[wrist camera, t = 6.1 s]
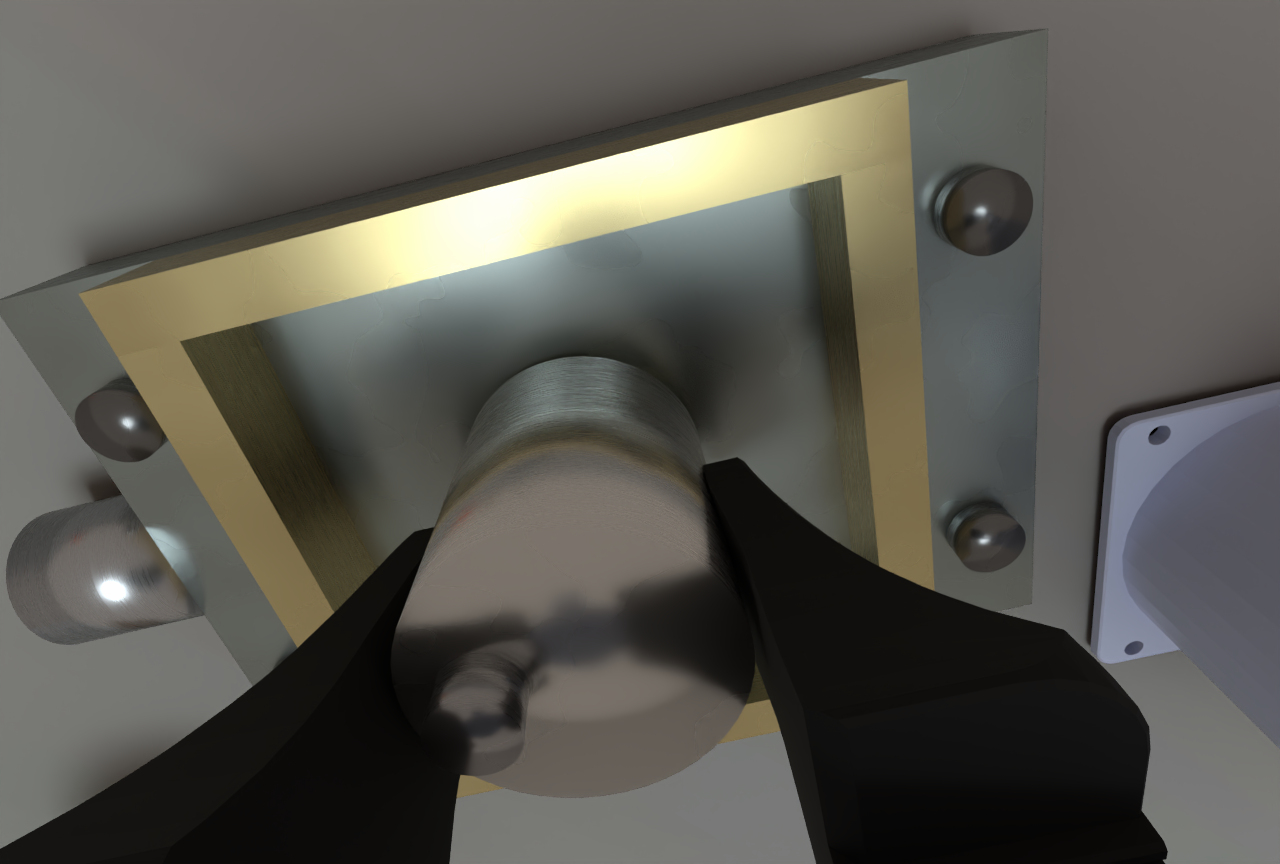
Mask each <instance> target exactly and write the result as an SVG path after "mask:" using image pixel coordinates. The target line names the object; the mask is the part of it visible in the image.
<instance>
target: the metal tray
mask: <svg viewBox="0 0 1280 864" xmlns="http://www.w3.org/2000/svg"><path fill="white" fill-rule="evenodd" d="M1047 51H1048V29H1037V30H1025V31H1013V32H1001V33H990V34H978V35H971V36H967V37H963V38H959V39H955V40H952V41H948V42H944V43H940V44H936V45H932V46H929V47H925V48H921V49H917V50H913V51H909V52H905V53H902V54H898V55H894V56H890V57H886V58H882V59H879V60H875V61H871V62H867V63H863V64H859V65H856V66H852V67H848V68H844V69H840V70H836V71H833V72H829V73H825V74H821V75H817V76H813V77H809V78H806V79H802V80H798V81H794V82H790V83H786V84H783V85H779V86H775V87H771V88H767V89H763V90H760V91H756V92H752V93H748V94H744V95H740V96H736V97H733V98H729V99H725V100H721V101H717V102H713V103H710V104H706V105H702V106H698V107H694V108H690V109H687V110H683V111H679V112H675V113H671V114H667V115H663V116H660V117H656V118H652V119H648V120H644V121H640V122H637V123H633V124H629V125H625V126H621V127H617V128H614V129H610V130H606V131H602V132H598V133H594V134H591V135H587V136H583V137H579V138H575V139H571V140H567V141H564V142H560V143H556V144H552V145H548V146H544V147H541V148H537V149H533V150H529V151H525V152H521V153H518V154H514V155H510V156H506V157H502V158H498V159H494V160H491V161H487V162H483V163H479V164H475V165H471V166H468V167H464V168H460V169H456V170H452V171H448V172H445V173H441V174H437V175H433V176H429V177H425V178H421V179H418V180H414V181H410V182H406V183H402V184H398V185H395V186H391V187H387V188H383V189H379V190H375V191H372V192H368V193H364V194H360V195H356V196H352V197H349V198H345V199H341V200H337V201H333V202H329V203H325V204H322V205H318V206H314V207H310V208H306V209H302V210H299V211H295V212H291V213H287V214H283V215H279V216H276V217H272V218H268V219H264V220H260V221H256V222H252V223H249V224H245V225H241V226H237V227H233V228H229V229H226V230H222V231H218V232H214V233H210V234H206V235H203V236H199V237H195V238H191V239H187V240H183V241H179V242H176V243H172V244H168V245H164V246H160V247H156V248H153V249H149V250H145V251H141V252H137V253H133V254H130V255H126V256H122V257H118V258H114V259H110V260H107V261H103V262H99V263H95V264H91V265H87V266H84V267H81V268H79V269H76V270H74V271H71V272H68V273H66V274H63V275H61V276H58V277H56V278H53V279H51V280H48V281H45V282H43V283H40V284H38V285H35V286H33V287H30V288H27V289H25V290H22V291H20V292H17V293H15V294H12V295H10V296H7V297H4V298H2V299H0V316H1V317H2V319H3V320H4V322H5V323H6V325H7V326H8V328H9V329H10V330H11V332H12V333H13V335H14V336H15V338H16V339H17V341H18V342H19V344H20V345H21V347H22V348H23V350H24V351H25V352H26V354H27V355H28V357H29V358H30V360H31V361H32V363H33V364H34V366H35V367H36V369H37V370H38V372H39V373H40V374H41V376H42V377H43V379H44V380H45V382H46V383H47V385H48V386H49V388H50V389H51V391H52V392H53V394H54V395H55V396H56V398H57V399H58V401H59V402H60V404H61V405H62V407H63V408H64V410H65V411H66V413H67V414H68V416H69V417H70V418H71V420H72V421H73V423H74V424H75V426H76V427H77V430H78V432H79V434H80V436H81V437H82V439H83V440H84V441H85V442H86V443H87V444H88V445H89V446H90V448H91V449H92V451H93V452H94V454H95V455H96V457H97V458H98V460H99V461H100V462H101V464H102V465H103V467H104V468H105V470H106V471H107V473H108V474H109V476H110V477H111V479H112V480H113V482H114V483H115V484H116V486H117V487H118V489H119V490H120V492H121V493H122V495H119V496H115V497H110V498H106V499H102V500H98V501H94V502H90V503H85V504H81V505H77V506H73V507H69V508H64V509H60V510H56V511H52V512H49V513H45V514H43V515H41V516H39V517H37V518H35V519H34V520H32V521H31V522H29V523H28V524H27V525H26V526H25V527H24V528H23V529H22V530H21V532H20V533H19V534H18V536H17V537H16V539H15V541H14V542H13V545H12V547H11V549H10V552H9V556H8V560H7V566H6V583H7V590H8V594H9V598H10V600H11V603H12V606H13V608H14V610H15V611H16V613H17V615H18V617H19V618H20V619H21V621H22V622H23V623H24V624H25V625H26V626H27V627H28V628H29V629H30V630H31V631H32V632H33V633H35V634H36V635H38V636H39V637H41V638H43V639H45V640H47V641H50V642H52V643H57V644H63V645H74V644H80V643H84V642H89V641H93V640H97V639H102V638H106V637H111V636H115V635H119V634H124V633H128V632H133V631H137V630H141V629H146V628H150V627H155V626H159V625H163V624H168V623H172V622H177V621H181V620H185V619H190V618H194V617H199V616H203V615H205V616H206V618H207V619H208V621H209V622H210V624H211V625H212V627H213V628H214V630H215V631H216V633H217V634H218V635H219V637H220V638H221V640H222V641H223V643H224V644H225V646H226V647H227V649H228V650H229V652H230V653H231V655H232V656H233V657H234V659H235V660H236V662H237V663H238V665H239V666H240V668H241V669H242V671H243V672H244V674H245V675H246V677H247V678H248V679H249V681H250V682H251V684H252V685H253V686H254V685H255V684H256V683H258V682H259V681H260V680H261V679H263V678H264V677H265V676H266V675H267V674H269V673H270V672H271V671H272V670H273V669H274V668H276V667H277V666H278V665H279V664H280V663H281V662H283V661H284V660H285V659H286V658H287V657H288V656H289V655H290V654H291V653H293V652H294V651H295V650H296V649H297V648H298V647H299V646H300V645H301V644H302V643H303V642H304V641H305V640H306V639H307V638H308V637H309V636H310V635H311V634H312V633H314V632H315V631H316V630H317V629H318V628H319V627H320V626H321V625H322V624H323V623H324V622H325V621H326V620H327V619H328V618H329V617H330V616H331V615H332V614H333V613H334V612H335V611H336V610H337V609H338V608H339V607H340V606H341V605H342V604H343V603H344V602H345V601H346V600H347V599H348V598H349V597H350V596H351V595H352V594H353V593H354V592H355V591H356V590H357V589H358V588H359V587H360V586H361V585H362V584H363V582H364V581H365V580H366V579H367V578H368V577H369V576H370V575H371V574H372V573H373V572H374V571H375V570H376V569H377V568H378V567H379V566H380V565H381V564H382V563H383V562H384V560H385V559H386V558H387V557H388V556H389V555H390V554H391V553H392V552H393V551H394V550H395V549H396V548H397V547H398V546H399V545H400V544H401V543H402V542H403V541H404V540H405V539H406V538H408V537H409V536H410V535H411V534H412V533H413V532H415V531H419V530H423V529H427V528H432V527H435V524H436V521H437V519H438V516H439V513H440V511H441V508H442V505H443V503H444V500H445V497H446V495H447V492H448V489H449V487H450V484H451V481H452V479H453V476H454V473H455V471H456V468H457V465H458V463H459V460H460V457H461V455H462V452H463V450H464V447H465V444H466V442H467V439H468V436H469V434H470V431H471V428H472V426H473V424H474V421H475V419H476V417H477V415H478V413H479V412H480V410H481V408H482V407H483V405H484V404H485V402H486V401H487V400H488V399H489V398H490V396H491V395H492V394H493V393H494V392H495V391H496V390H497V389H498V388H499V387H500V386H501V385H503V384H504V383H505V382H506V381H507V380H509V379H510V378H512V377H513V376H515V375H516V374H518V373H520V372H522V371H524V370H526V369H528V368H530V367H532V366H534V365H537V364H540V363H543V362H546V361H549V360H554V359H559V358H564V357H576V356H589V357H601V358H607V359H613V360H617V361H620V362H623V363H626V364H630V365H632V366H634V367H636V368H639V369H641V370H643V371H645V372H647V373H648V374H650V375H652V376H653V377H655V378H656V379H658V380H659V381H660V382H662V383H663V384H664V385H665V386H667V387H668V388H669V389H670V390H671V391H672V392H673V393H674V394H675V395H676V396H677V397H678V398H679V399H680V401H681V402H682V404H683V405H684V406H685V408H686V409H687V411H688V412H689V414H690V416H691V418H692V420H693V422H694V424H695V427H696V430H697V433H698V436H699V439H700V443H701V447H702V450H703V454H704V458H705V462H706V464H710V463H714V462H718V461H723V460H727V459H731V458H736V457H738V458H740V459H741V460H743V461H744V462H745V463H746V464H747V465H748V466H749V468H750V469H751V470H752V471H753V472H754V473H755V474H756V475H757V476H758V477H759V478H760V479H761V480H762V481H763V482H764V483H765V484H766V485H767V486H768V487H769V488H770V489H771V490H772V491H773V492H774V493H775V494H776V495H777V496H779V497H780V498H781V499H782V500H783V501H784V502H786V503H787V504H788V505H789V506H790V507H792V508H793V509H794V510H795V511H796V512H798V513H799V514H800V515H801V516H802V517H804V518H805V519H806V520H808V521H809V522H810V523H812V524H813V525H814V526H816V527H817V528H818V529H820V530H821V531H823V532H824V533H825V534H827V535H828V536H830V537H831V538H833V539H834V540H836V541H837V542H839V543H840V544H842V545H843V546H845V547H846V548H848V549H850V550H851V551H853V552H854V553H856V554H858V555H860V556H861V557H863V558H865V559H867V560H868V561H870V562H872V563H874V564H876V565H878V566H880V567H882V568H884V569H886V570H888V571H890V572H892V573H894V574H896V575H899V576H901V577H903V578H905V579H908V580H910V581H912V582H914V583H917V584H919V585H921V586H923V587H926V588H928V589H931V590H933V591H936V592H939V593H941V594H944V595H946V596H949V597H952V598H955V599H958V600H961V601H964V602H967V603H969V604H972V605H975V606H978V607H981V608H984V609H987V610H991V611H994V612H996V611H1000V610H1005V609H1010V608H1015V607H1019V606H1024V605H1029V604H1032V576H1033V541H1034V506H1035V471H1036V436H1037V401H1038V366H1039V331H1040V296H1041V261H1042V226H1043V191H1044V156H1045V121H1046V86H1047ZM778 731H780V728H779V725H778V721H777V718H776V715H775V713H774V710H773V707H772V705H771V702H770V699H769V697H768V694H767V691H766V688H765V686H764V683H763V680H762V678H761V675H760V672H759V670H758V667H757V664H756V662H755V673H754V679H753V684H752V689H751V691H750V694H749V697H748V700H747V703H746V705H745V707H744V709H743V711H742V712H741V714H740V716H739V718H738V720H737V721H736V723H735V724H734V725H733V727H732V728H731V729H730V731H729V732H728V733H727V734H726V736H725V737H724V738H723V739H722V740H721V741H720V742H719V743H718V744H720V743H725V742H729V741H734V740H739V739H744V738H749V737H754V736H758V735H763V734H768V733H773V732H778ZM502 788H503V787H499V786H496V785H494V784H491V783H489V782H486V781H483V780H481V779H478V778H476V777H474V776H466V775H460V780H459V786H458V792H457V798H459V797H464V796H468V795H473V794H478V793H483V792H488V791H493V790H497V789H502Z"/></svg>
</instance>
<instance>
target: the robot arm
mask: <svg viewBox="0 0 1280 864" xmlns="http://www.w3.org/2000/svg"><path fill="white" fill-rule="evenodd" d="M1156 427H1158V430H1157V431H1156V432H1155V433H1154V434H1153V435H1151V436H1149V434H1150V432H1151V431H1152V430H1153V429H1154V428H1156ZM703 469H704V473H705V477H706V480H707V484H708V488H709V492H710V495H711V498H712V501H713V504H714V507H715V509H716V512H717V515H718V518H719V520H720V523H721V526H722V529H723V532H724V535H725V539H726V542H727V545H728V548H729V551H730V555H731V558H732V562H733V566H734V569H735V573H736V577H737V581H738V584H739V588H740V592H741V595H742V599H743V603H744V607H745V610H746V614H747V618H748V621H749V625H750V629H751V633H752V637H753V643H754V649H755V662H756V664H757V667H758V670H759V672H760V675H761V678H762V680H763V683H764V686H765V688H766V691H767V694H768V697H769V699H770V702H771V705H772V707H773V710H774V713H775V715H776V718H777V721H778V725H779V728H780V731H781V734H782V737H783V740H784V743H785V747H786V751H787V755H788V758H789V762H790V766H791V770H792V773H793V777H794V781H795V785H796V788H797V792H798V796H799V800H800V803H801V807H802V811H803V815H804V819H805V822H806V826H807V830H808V834H809V838H810V841H811V845H812V849H813V853H814V856H815V860H816V864H1165V863H1164V862H1163V860H1164V859H1166V858H1167V852H1168V851H1167V848H1166V846H1165V843H1164V841H1163V839H1162V838H1161V837H1160V835H1159V834H1158V833H1157V831H1156V830H1155V828H1154V827H1153V826H1152V824H1151V823H1150V822H1149V820H1148V819H1147V817H1146V816H1145V815H1144V813H1143V812H1142V811H1141V810H1142V803H1143V796H1144V789H1145V782H1146V776H1147V769H1148V762H1149V755H1150V734H1149V726H1148V724H1147V722H1146V720H1145V718H1144V717H1143V715H1142V713H1141V711H1140V709H1139V708H1138V706H1137V705H1136V704H1135V703H1134V701H1133V700H1132V699H1131V698H1130V697H1129V696H1128V694H1127V693H1126V692H1125V691H1124V690H1123V688H1122V687H1121V686H1120V685H1119V684H1118V682H1117V681H1116V680H1115V679H1114V678H1113V677H1112V676H1111V675H1110V674H1109V673H1108V672H1107V671H1106V670H1105V669H1104V668H1103V667H1102V666H1101V665H1100V663H1099V662H1098V661H1097V660H1096V659H1095V658H1094V657H1092V656H1091V655H1090V654H1089V653H1088V652H1087V651H1086V650H1085V649H1084V648H1083V647H1082V646H1080V645H1079V644H1078V643H1077V642H1076V641H1075V640H1074V639H1073V638H1072V637H1071V636H1070V635H1069V634H1068V633H1067V632H1066V631H1065V630H1062V629H1059V628H1055V627H1051V626H1047V625H1043V624H1040V623H1036V622H1032V621H1028V620H1024V619H1020V618H1017V617H1013V616H1009V615H1005V614H1001V613H998V612H994V611H991V610H987V609H984V608H981V607H978V606H975V605H972V604H969V603H967V602H964V601H961V600H958V599H955V598H952V597H949V596H946V595H944V594H941V593H939V592H936V591H933V590H931V589H928V588H926V587H923V586H921V585H919V584H917V583H914V582H912V581H910V580H908V579H905V578H903V577H901V576H899V575H896V574H894V573H892V572H890V571H888V570H886V569H884V568H882V567H880V566H878V565H876V564H874V563H872V562H870V561H868V560H867V559H865V558H863V557H861V556H860V555H858V554H856V553H854V552H853V551H851V550H850V549H848V548H846V547H845V546H843V545H842V544H840V543H839V542H837V541H836V540H834V539H833V538H831V537H830V536H828V535H827V534H825V533H824V532H823V531H821V530H820V529H818V528H817V527H816V526H814V525H813V524H812V523H810V522H809V521H808V520H806V519H805V518H804V517H802V516H801V515H800V514H799V513H798V512H796V511H795V510H794V509H793V508H792V507H790V506H789V505H788V504H787V503H786V502H784V501H783V500H782V499H781V498H780V497H779V496H777V495H776V494H775V493H774V492H773V491H772V490H771V489H770V488H769V487H768V486H767V485H766V484H765V483H764V482H763V481H762V480H761V479H760V478H759V477H758V476H757V475H756V474H755V473H754V472H753V471H752V470H751V469H750V468H749V466H748V465H747V464H746V463H745V462H744V461H743V460H741V459H740V458H738V457H736V458H731V459H727V460H723V461H718V462H714V463H710V464H705V465H703ZM433 529H434V527H432V528H427V529H423V530H419V531H415V532H413V533H412V534H411V535H410V536H409V537H408V538H406V539H405V540H404V541H403V542H402V543H401V544H400V545H399V546H398V547H397V548H396V549H395V550H394V551H393V552H392V553H391V554H390V555H389V556H388V557H387V558H386V559H385V560H384V562H383V563H382V564H381V565H380V566H379V567H378V568H377V569H376V570H375V571H374V572H373V573H372V574H371V575H370V576H369V577H368V578H367V579H366V580H365V581H364V582H363V584H362V585H361V586H360V587H359V588H358V589H357V590H356V591H355V592H354V593H353V594H352V595H351V596H350V597H349V598H348V599H347V600H346V601H345V602H344V603H343V604H342V605H341V606H340V607H339V608H338V609H337V610H336V611H335V612H334V613H333V614H332V615H331V616H330V617H329V618H328V619H327V620H326V621H325V622H324V623H323V624H322V625H321V626H320V627H319V628H318V629H317V630H316V631H315V632H314V633H312V634H311V635H310V636H309V637H308V638H307V639H306V640H305V641H304V642H303V643H302V644H301V645H300V646H299V647H298V648H297V649H296V650H295V651H294V652H293V653H291V654H290V655H289V656H288V657H287V658H286V659H285V660H284V661H283V662H281V663H280V664H279V665H278V666H277V667H276V668H274V669H273V670H272V671H271V672H270V673H269V674H267V675H266V676H265V677H264V678H263V679H261V680H260V681H259V682H258V683H256V684H255V685H254V686H253V687H252V688H250V689H249V690H248V691H247V692H245V693H244V694H243V695H242V696H240V697H239V698H238V699H237V700H235V701H234V702H233V703H232V704H230V705H229V706H227V707H226V708H225V709H223V710H222V711H221V712H219V713H218V714H216V715H215V716H214V717H212V718H211V719H210V720H208V721H207V722H205V723H204V724H203V725H201V726H200V727H199V728H197V729H196V730H194V731H193V732H192V733H190V734H189V735H188V736H186V737H185V738H183V739H182V740H181V741H179V742H178V743H177V744H175V745H174V746H172V747H171V748H169V749H168V750H166V751H165V752H163V753H162V754H160V755H159V756H157V757H156V758H154V759H153V760H151V761H150V762H148V763H147V764H145V765H143V766H142V767H140V768H139V769H137V770H136V771H134V772H133V773H131V774H129V775H128V776H126V777H125V778H123V779H121V780H120V781H118V782H117V783H115V784H113V785H112V786H110V787H108V788H107V789H105V790H104V791H102V792H100V793H99V794H97V795H95V796H94V797H92V798H90V799H89V800H87V801H85V802H84V803H82V804H80V805H78V806H77V807H75V808H73V809H71V810H70V811H68V812H66V813H64V814H62V815H61V816H59V817H57V818H55V819H53V820H52V821H50V822H48V823H46V824H44V825H43V826H41V827H39V828H37V829H35V830H34V831H32V832H30V833H28V834H26V835H25V836H23V837H21V838H19V839H17V840H16V841H14V842H12V843H10V844H8V845H7V846H5V847H3V848H1V849H0V864H449V861H450V851H451V841H452V831H453V821H454V811H455V804H456V798H457V792H458V786H459V780H460V774H455V773H452V772H449V771H447V770H444V769H442V768H440V767H439V766H437V765H436V764H434V763H433V762H432V761H431V760H430V759H429V758H428V757H427V756H426V754H425V753H424V751H423V749H422V746H421V741H420V736H419V735H418V733H417V732H416V731H415V730H414V728H413V727H412V725H411V724H410V722H409V721H408V719H407V718H406V716H405V714H404V712H403V710H402V708H401V706H400V704H399V702H398V700H397V696H396V693H395V690H394V686H393V683H392V674H391V665H390V664H391V649H392V643H393V639H394V635H395V631H396V627H397V625H398V622H399V619H400V617H401V614H402V612H403V609H404V606H405V604H406V601H407V598H408V596H409V593H410V590H411V588H412V585H413V582H414V580H415V577H416V574H417V572H418V569H419V566H420V564H421V561H422V558H423V556H424V553H425V550H426V548H427V545H428V542H429V540H430V537H431V535H432V532H433ZM1176 650H1181V651H1182V652H1183V653H1184V654H1185V655H1186V656H1187V657H1188V658H1189V659H1190V660H1191V661H1192V662H1193V663H1194V664H1195V665H1196V666H1197V667H1198V668H1199V669H1200V670H1201V671H1202V672H1203V673H1204V674H1205V675H1206V676H1207V677H1208V678H1209V679H1210V680H1211V681H1212V682H1213V683H1214V684H1215V685H1216V686H1217V687H1218V688H1219V689H1220V690H1221V691H1222V692H1223V693H1224V694H1225V695H1226V696H1227V697H1228V698H1229V699H1230V700H1231V701H1232V702H1233V703H1234V704H1235V705H1236V706H1237V707H1238V708H1239V709H1240V710H1241V711H1242V712H1243V713H1244V714H1245V715H1246V716H1247V717H1248V718H1249V719H1250V720H1251V721H1252V722H1253V723H1254V724H1255V725H1256V726H1257V727H1258V728H1259V729H1260V730H1261V731H1262V732H1263V733H1264V734H1265V735H1266V736H1267V737H1268V738H1269V739H1270V740H1271V741H1272V742H1273V743H1274V744H1275V745H1276V746H1277V747H1278V748H1279V749H1280V382H1276V383H1271V384H1267V385H1262V386H1258V387H1254V388H1249V389H1245V390H1240V391H1236V392H1232V393H1227V394H1223V395H1218V396H1214V397H1210V398H1205V399H1201V400H1196V401H1192V402H1187V403H1183V404H1179V405H1174V406H1170V407H1165V408H1161V409H1157V410H1152V411H1148V412H1143V413H1139V414H1134V415H1130V416H1128V417H1125V418H1122V419H1121V420H1120V421H1118V422H1117V423H1116V424H1115V425H1114V426H1113V427H1112V429H1111V430H1110V432H1109V435H1108V440H1107V452H1106V465H1105V477H1104V489H1103V501H1102V514H1101V526H1100V538H1099V550H1098V563H1097V575H1096V587H1095V599H1094V612H1093V624H1092V636H1091V651H1092V652H1093V653H1094V655H1095V656H1096V657H1097V658H1098V659H1099V660H1100V661H1101V662H1103V663H1107V664H1110V663H1118V662H1123V661H1128V660H1132V659H1137V658H1142V657H1147V656H1152V655H1157V654H1162V653H1166V652H1171V651H1176Z"/></svg>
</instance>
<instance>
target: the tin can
mask: <svg viewBox="0 0 1280 864" xmlns="http://www.w3.org/2000/svg"><path fill="white" fill-rule="evenodd" d="M705 464H706V462H705V458H704V454H703V450H702V447H701V443H700V439H699V436H698V433H697V430H696V427H695V424H694V422H693V420H692V418H691V416H690V414H689V412H688V411H687V409H686V408H685V406H684V405H683V404H682V402H681V401H680V399H679V398H678V397H677V396H676V395H675V394H674V393H673V392H672V391H671V390H670V389H669V388H668V387H667V386H665V385H664V384H663V383H662V382H660V381H659V380H658V379H656V378H655V377H653V376H652V375H650V374H648V373H647V372H645V371H643V370H641V369H639V368H636V367H634V366H632V365H630V364H626V363H623V362H620V361H617V360H613V359H607V358H601V357H589V356H576V357H564V358H559V359H554V360H549V361H546V362H543V363H540V364H537V365H534V366H532V367H530V368H528V369H526V370H524V371H522V372H520V373H518V374H516V375H515V376H513V377H512V378H510V379H509V380H507V381H506V382H505V383H504V384H503V385H501V386H500V387H499V388H498V389H497V390H496V391H495V392H494V393H493V394H492V395H491V396H490V398H489V399H488V400H487V401H486V402H485V404H484V405H483V407H482V408H481V410H480V412H479V413H478V415H477V417H476V419H475V421H474V424H473V426H472V428H471V431H470V434H469V436H468V439H467V442H466V444H465V447H464V450H463V452H462V455H461V457H460V460H459V463H458V465H457V468H456V471H455V473H454V476H453V479H452V481H451V484H450V487H449V489H448V492H447V495H446V497H445V500H444V503H443V505H442V508H441V511H440V513H439V516H438V519H437V521H436V524H435V527H434V529H433V532H432V535H431V537H430V540H429V542H428V545H427V548H426V550H425V553H424V556H423V558H422V561H421V564H420V566H419V569H418V572H417V574H416V577H415V580H414V582H413V585H412V588H411V590H410V593H409V596H408V598H407V601H406V604H405V606H404V609H403V612H402V614H401V617H400V619H399V622H398V625H397V627H396V631H395V635H394V639H393V643H392V649H391V664H390V665H391V674H392V683H393V686H394V690H395V693H396V696H397V700H398V702H399V704H400V706H401V708H402V710H403V712H404V714H405V716H406V718H407V719H408V721H409V722H410V724H411V725H412V727H413V728H414V730H415V731H416V732H417V733H418V735H419V736H420V741H421V746H422V749H423V751H424V753H425V754H426V756H427V757H428V758H429V759H430V760H431V761H432V762H433V763H434V764H436V765H437V766H439V767H440V768H442V769H444V770H447V771H449V772H452V773H455V774H460V775H466V776H474V777H476V778H478V779H481V780H483V781H486V782H489V783H491V784H494V785H496V786H499V787H503V788H506V789H510V790H514V791H517V792H522V793H527V794H533V795H538V796H549V797H560V798H584V797H595V796H605V795H611V794H617V793H622V792H627V791H630V790H634V789H638V788H641V787H645V786H647V785H650V784H653V783H656V782H658V781H661V780H663V779H666V778H668V777H670V776H672V775H674V774H676V773H678V772H680V771H682V770H683V769H685V768H687V767H688V766H690V765H691V764H693V763H694V762H696V761H698V760H699V759H700V758H701V757H703V756H704V755H705V754H707V753H708V752H709V751H710V750H712V749H713V748H714V747H715V746H716V745H717V744H718V743H719V742H720V741H721V740H722V739H723V738H724V737H725V736H726V734H727V733H728V732H729V731H730V729H731V728H732V727H733V725H734V724H735V723H736V721H737V720H738V718H739V716H740V714H741V712H742V711H743V709H744V707H745V705H746V703H747V700H748V697H749V694H750V691H751V689H752V684H753V679H754V673H755V649H754V643H753V637H752V633H751V629H750V625H749V621H748V618H747V614H746V610H745V607H744V603H743V599H742V595H741V592H740V588H739V584H738V581H737V577H736V573H735V569H734V566H733V562H732V558H731V555H730V551H729V548H728V545H727V542H726V539H725V535H724V532H723V529H722V526H721V523H720V520H719V518H718V515H717V512H716V509H715V507H714V504H713V501H712V498H711V495H710V492H709V488H708V484H707V480H706V477H705V473H704V469H703V465H705Z"/></svg>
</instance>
